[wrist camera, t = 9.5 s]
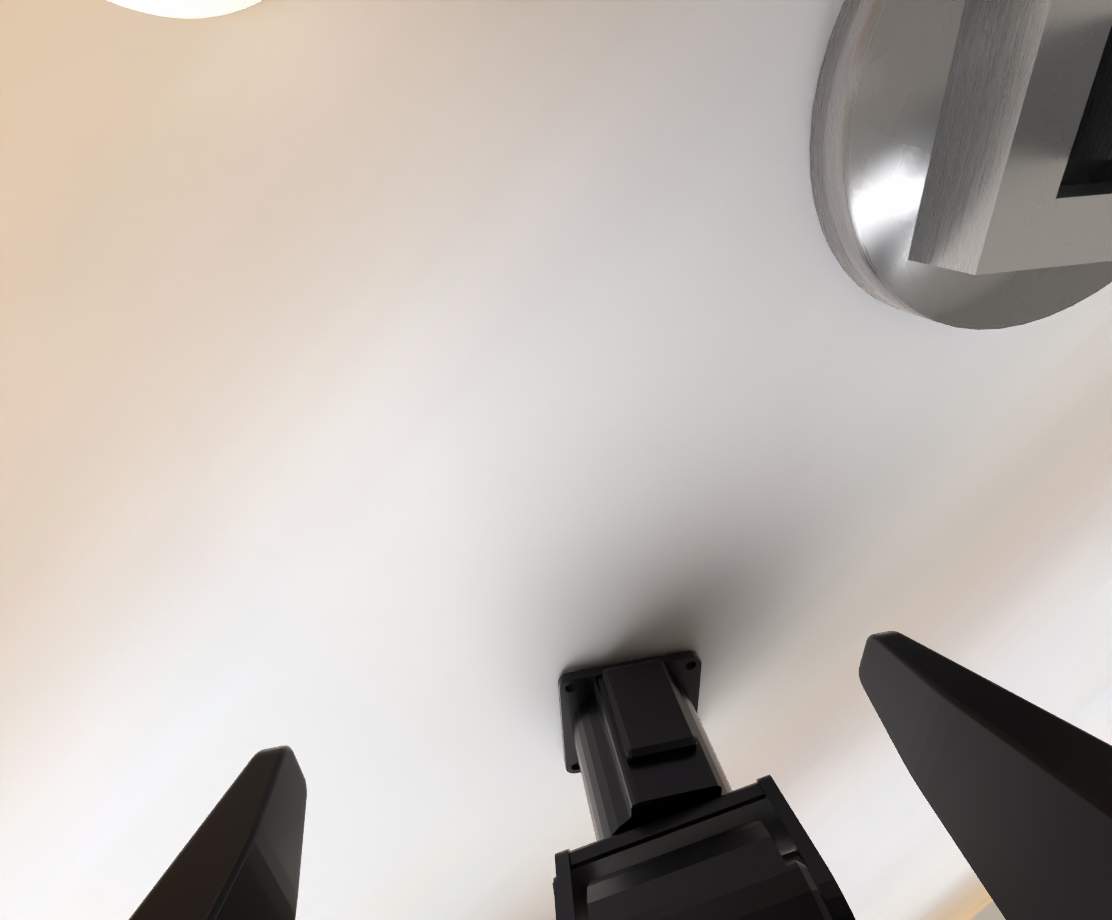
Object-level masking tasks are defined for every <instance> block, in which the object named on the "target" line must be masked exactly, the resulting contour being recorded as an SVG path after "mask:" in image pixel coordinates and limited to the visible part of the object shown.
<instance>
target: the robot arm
mask: <svg viewBox="0 0 1112 920" xmlns="http://www.w3.org/2000/svg"><path fill="white" fill-rule="evenodd" d="M700 674H701V660H700V658H699V656H698V654H697V653H696V652H694V651H685V652H679V653H674V654H668V655H663V656H658V657H652V658H647V659H641V660H636V661H630V662H625V663H620V664H614V665H609V666H603V667H598V668H592V669H587V670H582V671H576V672H571V673H567V674H564V675H563V676H561V677H560V679H559V681H558V688H559V700H560V713H561V725H562V737H563V749H564V761H565V766H566V770H567V771H568V772H569V773H579V772H581V774H582V778H583V783H584V787H585V791H586V796H587V800H588V805H589V809H590V813H591V818H592V822H593V826H594V831H595V835H596V840H597V842H594V843H591V844H588V845H586V846H583V847H580V848H578V849H575V850H572V851H570V850H569V849H567V850H564V851H562V852H559V853H556V854H555V864H556V877H555V878H554V882H553V890H554V896H555V910H556V920H855V918H854V916H853V913H852V911H851V909H850V907H849V905H848V903H847V902H846V900H845V898H844V896H843V894H842V892H841V890H840V888H839V886H838V884H837V883H836V881H835V879H834V877H833V875H832V874H831V872H830V870H829V869H828V867H827V865H826V864H825V862H824V860H823V859H822V857H821V856H820V854H819V852H818V851H817V849H816V848H815V846H814V844H813V843H812V841H811V840H810V838H809V836H808V835H807V833H806V832H805V830H804V828H803V827H802V825H801V824H800V822H799V820H798V819H797V817H796V816H795V814H794V812H793V811H792V809H791V808H790V806H789V804H788V803H787V801H786V800H785V798H784V796H783V795H782V793H781V792H780V790H779V788H778V787H777V785H776V784H775V782H774V780H773V779H772V777H771V776H770V775H767V776H764V777H762V778H759V779H757V782H756V783H754V784H751V785H748V786H745V787H743V788H740V789H737V790H735V791H732V789H731V787H730V785H729V783H728V780H727V778H726V776H725V774H724V772H723V770H722V767H721V765H720V763H719V761H718V759H717V756H716V754H715V752H714V750H713V748H712V746H711V743H710V741H709V739H708V737H707V735H706V733H705V730H704V728H703V726H702V724H701V722H700V719H699V717H698V715H697V709H698V697H699V686H700ZM859 677H860V681H861V683H862V686H863V688H864V690H865V691H866V693H867V695H868V697H869V699H870V701H871V703H872V704H873V706H874V708H875V710H876V712H877V714H878V716H879V717H880V719H881V721H882V723H883V725H884V727H885V729H886V730H887V732H888V734H889V736H890V738H891V740H892V742H893V743H894V745H895V747H896V749H897V751H898V753H899V755H900V756H901V758H902V760H903V762H904V764H905V765H906V767H907V769H908V771H909V772H910V774H911V776H912V777H913V779H914V781H915V782H916V784H917V785H918V787H919V789H920V790H921V792H922V793H923V795H924V796H925V798H926V799H927V801H928V802H929V804H930V805H931V807H932V808H933V810H934V811H935V813H936V814H937V816H938V817H939V819H940V820H941V822H942V824H943V825H944V827H945V828H946V830H947V831H948V833H949V834H950V836H951V837H952V839H953V840H954V842H955V843H956V845H957V846H958V848H959V849H960V851H961V852H962V854H963V855H964V857H965V858H966V860H967V861H968V863H969V864H970V866H971V867H972V869H973V870H974V872H975V873H976V875H977V877H978V878H979V880H980V881H981V883H982V884H983V886H984V887H985V889H986V890H987V892H988V893H989V895H990V896H991V898H992V899H993V901H994V902H995V904H996V905H997V907H998V908H999V910H1000V911H1001V913H1002V914H1003V916H1004V917H1005V919H1006V920H1112V746H1111V745H1109V744H1108V743H1106V742H1104V741H1102V740H1100V739H1098V738H1096V737H1094V736H1093V735H1091V734H1089V733H1087V732H1085V731H1083V730H1081V729H1079V728H1078V727H1076V726H1074V725H1072V724H1070V723H1068V722H1066V721H1064V720H1063V719H1061V718H1059V717H1057V716H1055V715H1053V714H1051V713H1049V712H1047V711H1046V710H1044V709H1042V708H1040V707H1038V706H1036V705H1034V704H1032V703H1031V702H1029V701H1027V700H1025V699H1023V698H1021V697H1019V696H1017V695H1016V694H1014V693H1012V692H1010V691H1008V690H1006V689H1004V688H1002V687H1001V686H999V685H997V684H995V683H993V682H991V681H989V680H987V679H986V678H984V677H982V676H980V675H978V674H976V673H974V672H972V671H971V670H969V669H967V668H965V667H963V666H961V665H959V664H957V663H955V662H954V661H952V660H950V659H948V658H946V657H944V656H942V655H940V654H939V653H937V652H935V651H933V650H931V649H929V648H927V647H925V646H924V645H922V644H920V643H918V642H916V641H914V640H912V639H910V638H909V637H907V636H905V635H903V634H901V633H899V632H895V631H887V632H882V633H877V634H872V635H870V636H869V637H868V639H867V641H866V645H865V648H864V652H863V656H862V659H861V663H860V667H859ZM569 684H570V685H569ZM306 798H307V788H306V781H305V778H304V775H303V773H302V771H301V769H300V766H299V764H298V762H297V759H296V757H295V755H294V752H293V751H292V749H291V748H290V747H289V746H279V747H274V748H269V749H264V750H261V751H259V752H258V753H257V754H255V755H254V757H253V758H252V759H251V760H250V762H249V763H248V764H247V766H246V767H245V768H244V769H243V771H242V772H241V773H240V775H239V776H238V777H237V779H236V780H235V781H234V783H233V784H232V785H231V787H230V788H229V789H228V790H227V792H226V793H225V794H224V796H223V797H222V798H221V800H220V801H219V802H218V804H217V805H216V806H215V808H214V809H213V810H212V811H211V813H210V814H209V815H208V817H207V818H206V819H205V821H204V822H203V823H202V825H201V826H200V827H199V828H198V830H197V831H196V832H195V834H194V835H193V836H192V838H191V839H190V840H189V842H188V843H187V844H186V846H185V847H184V848H183V849H182V851H181V852H180V853H179V855H178V856H177V857H176V859H175V860H174V861H173V863H172V864H171V865H170V866H169V868H168V869H167V870H166V872H165V873H164V874H163V876H162V877H161V878H160V880H159V881H158V882H157V884H156V885H155V886H154V887H153V889H152V890H151V891H150V893H149V894H148V895H147V897H146V898H145V899H144V901H143V902H142V903H141V904H140V906H139V907H138V908H137V910H136V911H135V912H134V914H133V915H132V916H131V918H130V919H129V920H295V916H296V908H297V899H298V888H299V877H300V866H301V854H302V843H303V832H304V821H305V810H306Z"/></svg>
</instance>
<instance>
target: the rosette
mask: <svg viewBox="0 0 1112 920" xmlns="http://www.w3.org/2000/svg"><path fill="white" fill-rule="evenodd" d="M1111 26H1112V0H845V2H844V4H843V7H842V9H841V12H840V15H839V17H838V20H837V22H836V25H835V28H834V30H833V33H832V35H831V38H830V40H829V44H828V47H827V51H826V54H825V58H824V61H823V65H822V68H821V72H820V75H819V80H818V85H817V91H816V96H815V101H814V107H813V112H812V125H811V137H810V168H811V182H812V188H813V195H814V202H815V207H816V210H817V214H818V217H819V220H820V224H821V227H822V231H823V233H824V235H825V237H826V239H827V242H828V244H829V246H830V248H831V250H832V252H833V254H834V255H835V257H836V259H837V260H838V262H839V263H840V265H841V266H842V268H843V269H844V271H845V272H846V273H847V274H848V275H849V276H850V277H851V278H852V279H853V280H854V281H855V282H856V283H857V285H858V286H860V287H861V288H862V289H864V290H865V291H866V292H868V293H869V294H870V295H872V296H873V297H874V298H876V299H878V300H880V301H882V302H884V303H886V304H888V305H890V306H892V307H895V308H898V309H901V310H904V311H907V312H910V313H913V314H916V315H918V316H921V317H924V318H927V319H930V320H933V321H936V322H940V323H943V324H947V325H950V326H954V327H959V328H968V329H977V330H980V329H1001V328H1006V327H1011V326H1017V325H1022V324H1026V323H1029V322H1032V321H1035V320H1039V319H1042V318H1045V317H1048V316H1050V315H1053V314H1055V313H1057V312H1059V311H1062V310H1064V309H1066V308H1068V307H1071V306H1073V305H1074V304H1076V303H1078V302H1080V301H1082V300H1083V299H1085V298H1087V297H1089V296H1090V295H1092V294H1094V293H1096V292H1097V291H1099V290H1100V289H1102V288H1103V287H1105V286H1106V285H1107V284H1109V283H1110V282H1112V160H1103V159H1068V158H1069V155H1070V152H1071V149H1072V146H1073V143H1074V140H1075V137H1076V134H1077V131H1078V128H1079V124H1080V121H1081V118H1082V115H1083V112H1084V109H1085V106H1086V103H1087V100H1088V97H1089V94H1090V90H1091V87H1092V84H1093V81H1094V78H1095V75H1096V72H1097V69H1098V66H1099V63H1100V60H1101V56H1102V53H1103V50H1104V47H1105V44H1106V41H1107V38H1108V35H1109V32H1110V29H1111Z"/></svg>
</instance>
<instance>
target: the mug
mask: <svg viewBox="0 0 1112 920" xmlns="http://www.w3.org/2000/svg"><path fill="white" fill-rule="evenodd" d="M107 1H110V2H112V3H115V4H117V5H120V6H123V7H126V8H129V9H132V10H136V11H140V12H144V13H148V14H153V15H158V16H164V17H173V18H207V17H215V16H221V15H226V14H230V13H233V12H237V11H240V10H243V9H245V8H248V7H250V6H252V5H254V4H257V3H259V2H260V1H262V0H107Z"/></svg>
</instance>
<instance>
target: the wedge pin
mask: <svg viewBox="0 0 1112 920" xmlns="http://www.w3.org/2000/svg"><path fill="white" fill-rule="evenodd" d="M1068 159H1103V160H1112V26H1111V29H1110V32H1109V35H1108V38H1107V41H1106V44H1105V47H1104V50H1103V53H1102V56H1101V60H1100V63H1099V66H1098V69H1097V72H1096V75H1095V78H1094V81H1093V84H1092V87H1091V90H1090V94H1089V97H1088V100H1087V103H1086V106H1085V109H1084V112H1083V115H1082V118H1081V121H1080V124H1079V128H1078V131H1077V134H1076V137H1075V140H1074V143H1073V146H1072V149H1071V152H1070V155H1069V158H1068Z"/></svg>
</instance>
